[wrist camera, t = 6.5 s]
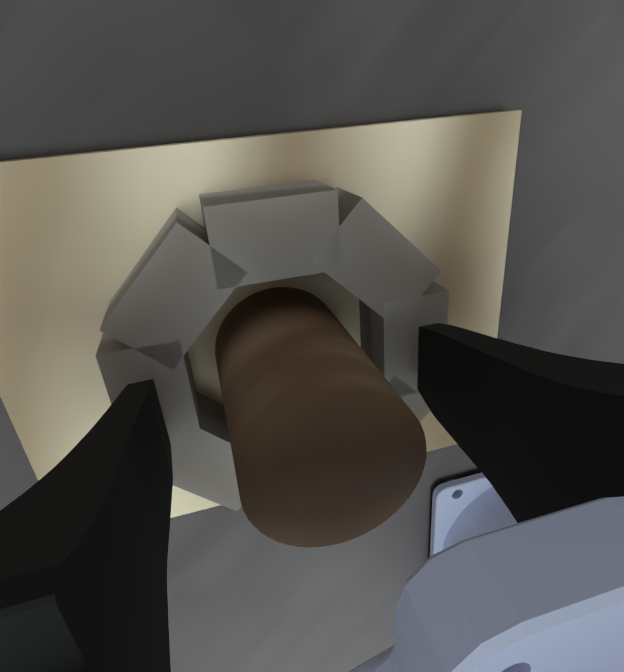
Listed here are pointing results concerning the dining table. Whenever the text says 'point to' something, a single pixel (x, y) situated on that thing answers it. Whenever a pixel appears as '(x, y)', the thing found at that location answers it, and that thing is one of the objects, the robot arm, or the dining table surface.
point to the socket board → (135, 192)
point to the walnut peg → (312, 422)
